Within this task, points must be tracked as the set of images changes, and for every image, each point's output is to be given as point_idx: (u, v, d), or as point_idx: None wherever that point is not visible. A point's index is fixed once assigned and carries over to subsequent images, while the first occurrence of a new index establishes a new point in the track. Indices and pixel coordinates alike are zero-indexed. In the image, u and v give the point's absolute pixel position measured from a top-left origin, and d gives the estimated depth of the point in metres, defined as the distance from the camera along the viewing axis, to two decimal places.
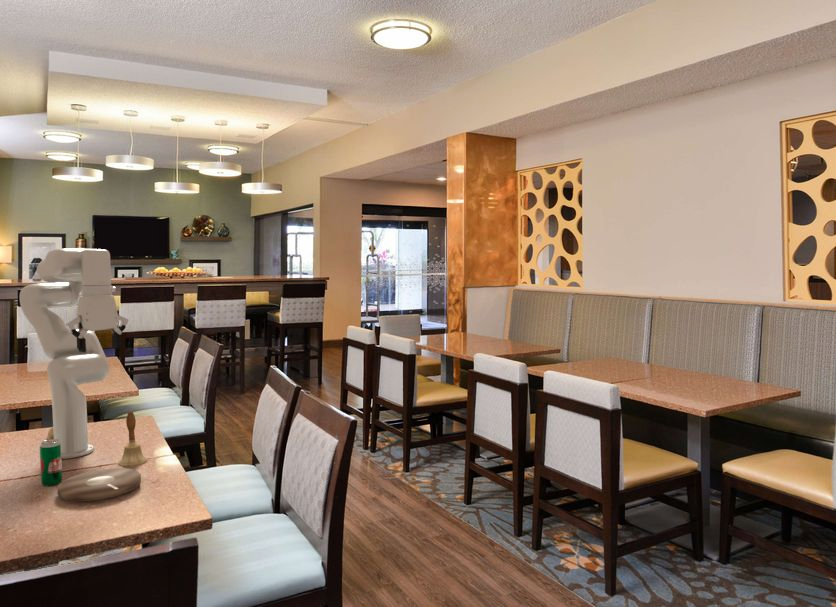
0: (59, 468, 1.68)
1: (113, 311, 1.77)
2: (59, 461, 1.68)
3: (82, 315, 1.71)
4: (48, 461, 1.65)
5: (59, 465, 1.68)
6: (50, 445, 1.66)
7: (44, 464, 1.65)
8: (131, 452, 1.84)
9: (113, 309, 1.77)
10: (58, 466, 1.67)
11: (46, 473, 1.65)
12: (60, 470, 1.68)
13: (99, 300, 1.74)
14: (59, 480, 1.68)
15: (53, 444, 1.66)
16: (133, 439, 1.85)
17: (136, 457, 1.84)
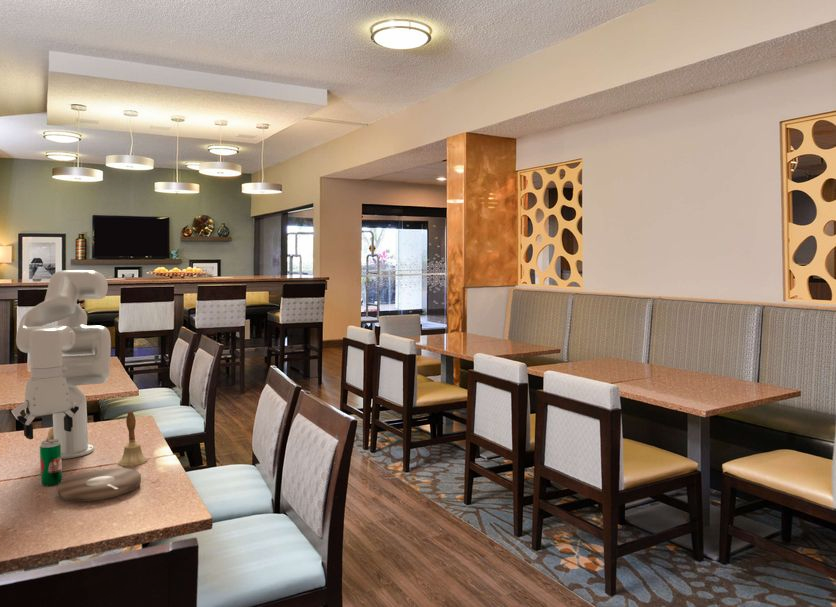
0: (59, 468, 1.68)
1: (64, 393, 1.67)
2: (59, 461, 1.68)
3: (29, 400, 1.61)
4: (48, 461, 1.65)
5: (59, 465, 1.68)
6: (50, 445, 1.66)
7: (44, 464, 1.65)
8: (131, 452, 1.84)
9: (64, 391, 1.67)
10: (58, 466, 1.67)
11: (46, 473, 1.65)
12: (60, 470, 1.68)
13: (48, 383, 1.64)
14: (59, 480, 1.68)
15: (53, 444, 1.66)
16: (133, 439, 1.85)
17: (136, 457, 1.84)
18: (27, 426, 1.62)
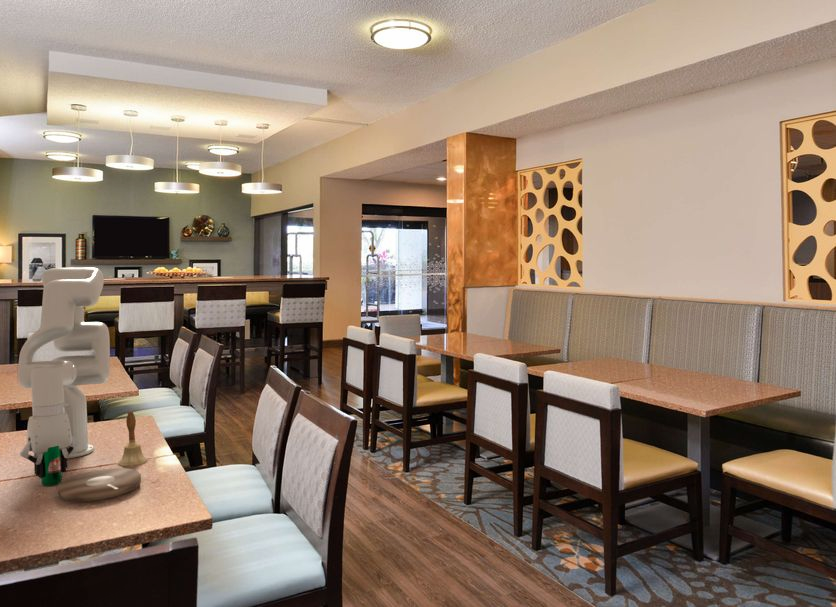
0: (59, 468, 1.68)
1: (66, 430, 1.68)
2: (59, 461, 1.68)
3: (31, 438, 1.62)
4: (48, 461, 1.65)
5: (59, 465, 1.68)
6: None
7: (44, 464, 1.65)
8: (131, 452, 1.84)
9: (66, 427, 1.68)
10: (58, 466, 1.67)
11: (46, 473, 1.65)
12: (60, 470, 1.68)
13: (49, 421, 1.65)
14: (59, 480, 1.68)
15: None
16: (133, 439, 1.85)
17: (136, 457, 1.84)
18: (38, 465, 1.64)
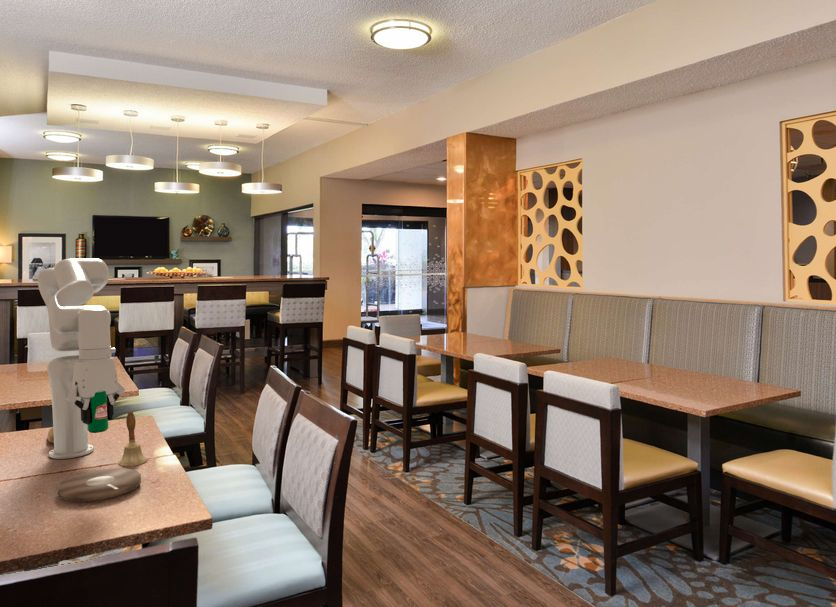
0: (106, 414, 1.62)
1: (113, 375, 1.62)
2: (106, 407, 1.61)
3: (78, 381, 1.56)
4: (95, 406, 1.59)
5: (106, 411, 1.62)
6: None
7: (91, 410, 1.59)
8: (131, 452, 1.84)
9: (113, 373, 1.62)
10: (105, 413, 1.61)
11: (93, 419, 1.59)
12: (107, 417, 1.62)
13: (97, 365, 1.59)
14: (106, 427, 1.61)
15: None
16: (133, 439, 1.85)
17: (136, 457, 1.84)
18: (84, 411, 1.58)
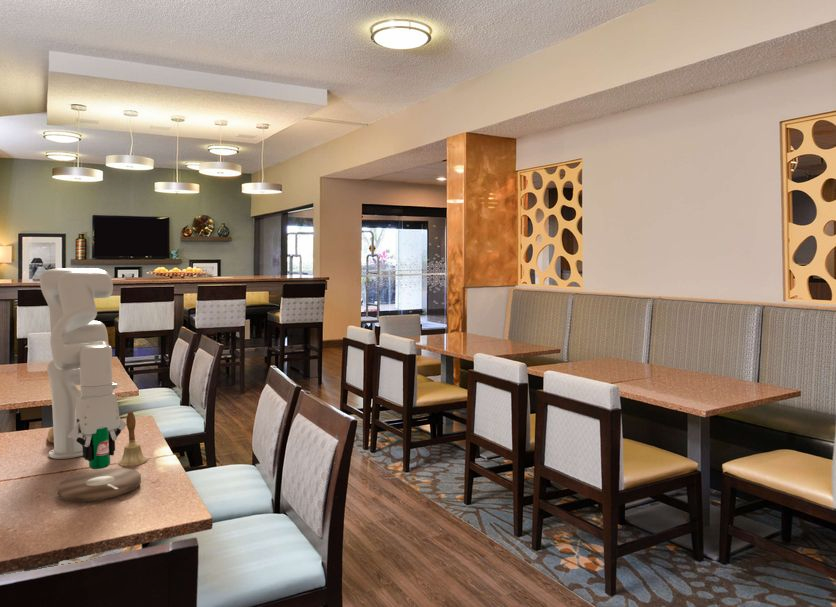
0: (108, 451, 1.62)
1: (114, 411, 1.63)
2: (107, 443, 1.62)
3: (80, 419, 1.57)
4: (97, 443, 1.60)
5: (108, 447, 1.62)
6: None
7: (93, 447, 1.60)
8: (131, 452, 1.84)
9: (114, 409, 1.63)
10: (106, 449, 1.62)
11: (95, 456, 1.60)
12: (108, 453, 1.62)
13: (98, 401, 1.59)
14: (107, 463, 1.62)
15: None
16: (133, 439, 1.85)
17: (136, 457, 1.84)
18: (86, 448, 1.59)
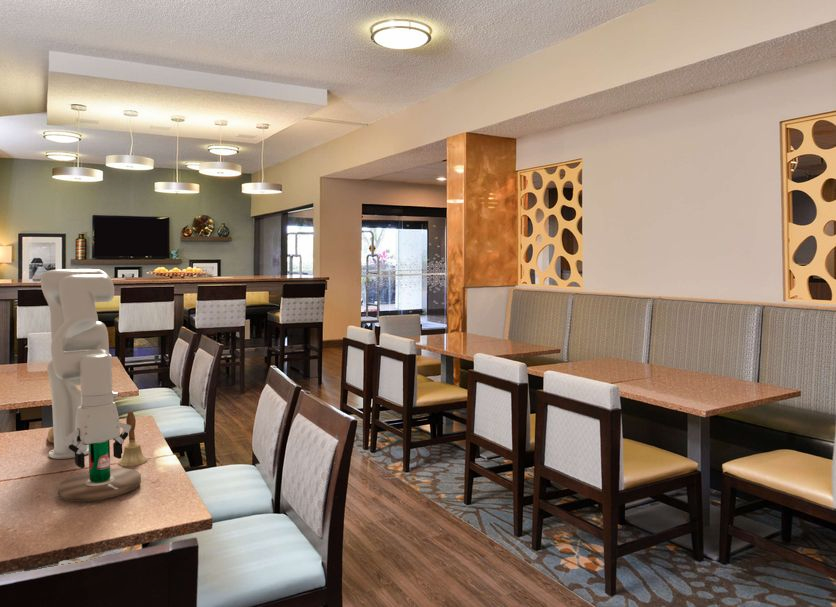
0: (108, 464, 1.63)
1: (114, 420, 1.63)
2: (108, 457, 1.62)
3: (80, 428, 1.57)
4: (97, 457, 1.60)
5: (108, 461, 1.63)
6: None
7: (93, 461, 1.60)
8: (131, 452, 1.84)
9: (114, 418, 1.63)
10: (107, 463, 1.62)
11: (95, 470, 1.60)
12: (109, 466, 1.63)
13: (99, 411, 1.59)
14: (108, 477, 1.63)
15: None
16: (133, 439, 1.85)
17: (136, 457, 1.84)
18: (78, 455, 1.57)
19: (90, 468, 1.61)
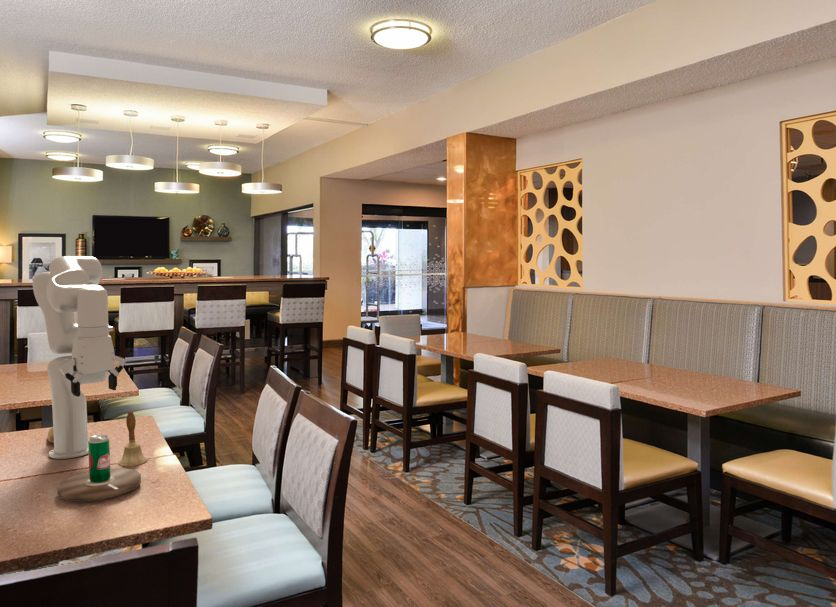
0: (108, 464, 1.63)
1: (110, 352, 1.69)
2: (108, 457, 1.62)
3: (77, 358, 1.63)
4: (97, 457, 1.60)
5: (108, 461, 1.63)
6: (99, 441, 1.60)
7: (93, 461, 1.60)
8: (131, 452, 1.84)
9: (110, 350, 1.69)
10: (107, 463, 1.62)
11: (95, 470, 1.60)
12: (109, 467, 1.63)
13: (94, 342, 1.65)
14: (108, 477, 1.63)
15: (102, 440, 1.61)
16: (133, 439, 1.85)
17: (136, 457, 1.84)
18: (74, 383, 1.63)
19: (90, 468, 1.61)
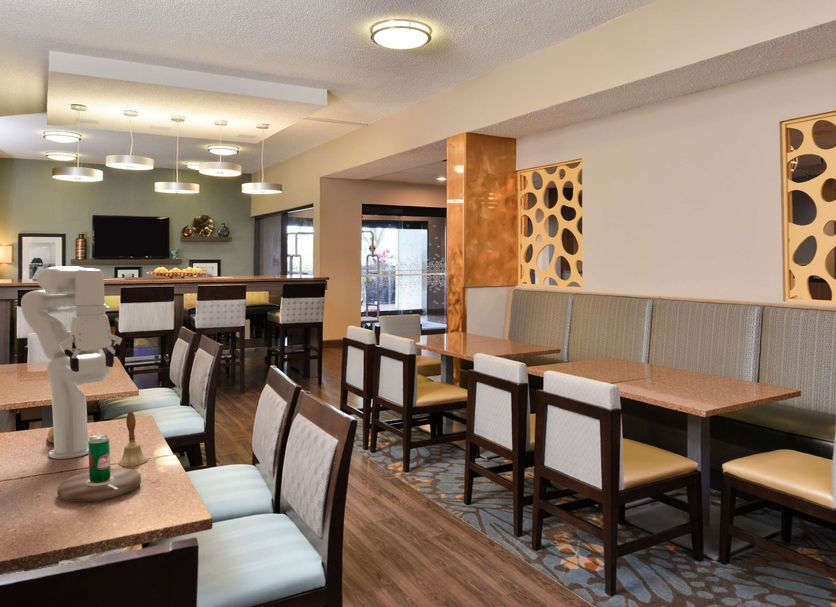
0: (108, 464, 1.63)
1: (106, 330, 1.78)
2: (108, 457, 1.62)
3: (75, 335, 1.72)
4: (97, 457, 1.60)
5: (108, 461, 1.63)
6: (99, 441, 1.60)
7: (93, 461, 1.60)
8: (131, 452, 1.84)
9: (106, 328, 1.78)
10: (107, 463, 1.62)
11: (95, 470, 1.60)
12: (109, 467, 1.63)
13: (92, 320, 1.74)
14: (108, 477, 1.63)
15: (102, 440, 1.61)
16: (133, 439, 1.85)
17: (136, 457, 1.84)
18: (73, 359, 1.72)
19: (90, 468, 1.61)
